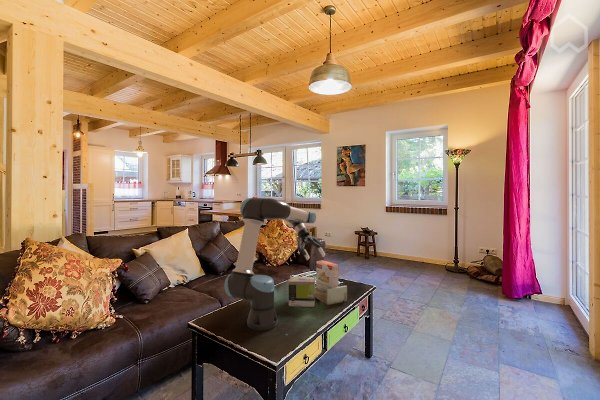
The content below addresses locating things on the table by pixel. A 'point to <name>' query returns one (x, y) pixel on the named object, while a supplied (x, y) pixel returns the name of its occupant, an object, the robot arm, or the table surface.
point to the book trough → (332, 295)
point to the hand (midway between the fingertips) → (316, 257)
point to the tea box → (302, 291)
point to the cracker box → (326, 275)
